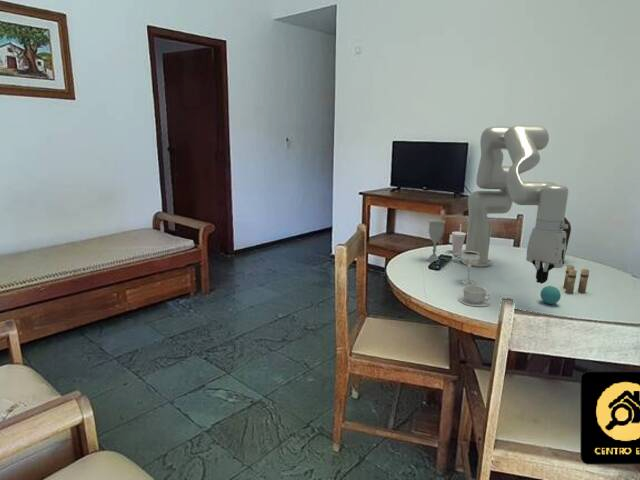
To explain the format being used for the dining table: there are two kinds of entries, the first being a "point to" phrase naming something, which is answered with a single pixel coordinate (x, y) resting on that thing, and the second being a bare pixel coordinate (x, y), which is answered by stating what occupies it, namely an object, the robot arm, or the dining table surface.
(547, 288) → the ball
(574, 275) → the front pin
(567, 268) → the back left pin
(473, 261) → the wineglass
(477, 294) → the teacup
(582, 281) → the back right pin
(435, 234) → the chalice
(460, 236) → the smoothie
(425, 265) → the dining table surface
